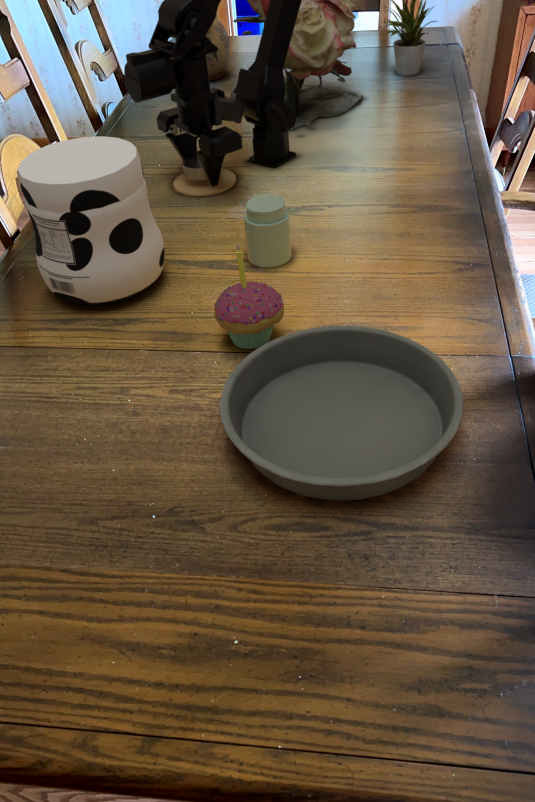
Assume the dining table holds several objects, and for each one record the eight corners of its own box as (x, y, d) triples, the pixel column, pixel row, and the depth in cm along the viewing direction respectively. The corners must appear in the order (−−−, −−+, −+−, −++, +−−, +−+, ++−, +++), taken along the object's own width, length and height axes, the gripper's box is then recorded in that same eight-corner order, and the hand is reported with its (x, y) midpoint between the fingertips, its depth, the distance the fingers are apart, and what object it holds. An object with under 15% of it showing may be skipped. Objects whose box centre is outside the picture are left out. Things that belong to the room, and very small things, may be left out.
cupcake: (208, 330, 91) (196, 245, 83) (270, 311, 93) (263, 227, 85) (233, 367, 85) (221, 279, 77) (298, 346, 87) (293, 259, 79)
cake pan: (240, 355, 87) (236, 324, 84) (448, 356, 84) (451, 324, 81) (206, 511, 68) (200, 479, 65) (471, 520, 65) (477, 486, 62)
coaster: (203, 165, 131) (203, 162, 131) (248, 177, 126) (248, 175, 125) (160, 187, 125) (160, 185, 125) (206, 201, 119) (206, 199, 119)
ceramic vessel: (201, 67, 177) (186, -50, 161) (237, 66, 176) (226, -53, 160) (188, 89, 165) (171, -36, 149) (227, 88, 164) (214, -39, 147)
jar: (266, 241, 108) (262, 189, 102) (300, 252, 104) (298, 199, 99) (238, 259, 104) (233, 206, 99) (273, 272, 101) (268, 217, 95)
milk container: (165, 244, 109) (143, 126, 97) (173, 305, 96) (149, 176, 84) (50, 261, 108) (14, 143, 96) (43, 325, 95) (0, 197, 83)
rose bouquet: (300, 138, 138) (293, -43, 118) (213, 104, 156) (194, -57, 136) (393, 102, 149) (401, -68, 129) (302, 75, 167) (296, -78, 147)
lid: (176, 172, 125) (174, 160, 124) (209, 161, 128) (208, 149, 126) (196, 184, 121) (194, 172, 119) (230, 172, 123) (229, 160, 122)
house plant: (375, 61, 171) (377, -16, 160) (435, 59, 169) (440, -19, 158) (374, 81, 160) (376, -1, 149) (437, 79, 158) (443, -4, 147)
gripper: (266, 87, 112) (272, 182, 122) (204, 63, 124) (215, 151, 134) (205, 105, 108) (217, 202, 118) (148, 78, 120) (163, 168, 130)
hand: (204, 179), depth 125 cm, fingers closed on lid, 7 cm apart
